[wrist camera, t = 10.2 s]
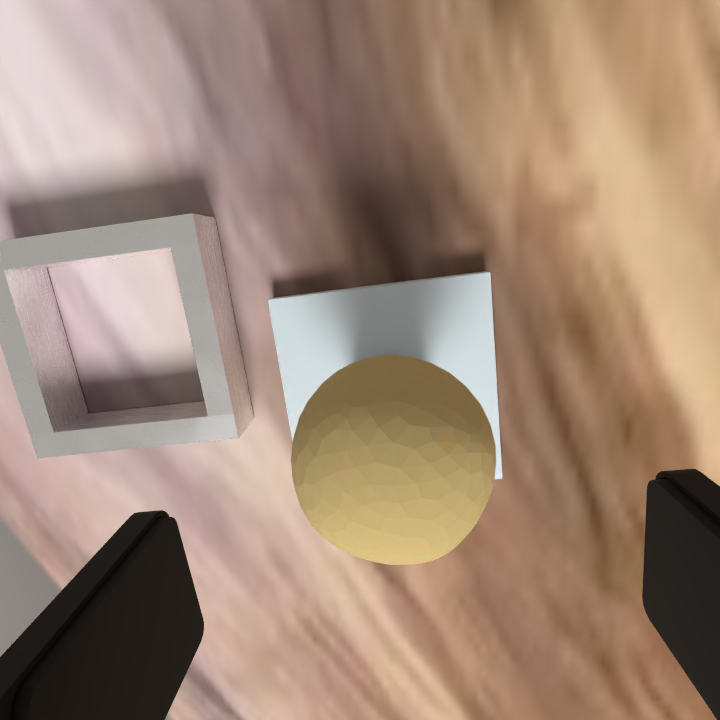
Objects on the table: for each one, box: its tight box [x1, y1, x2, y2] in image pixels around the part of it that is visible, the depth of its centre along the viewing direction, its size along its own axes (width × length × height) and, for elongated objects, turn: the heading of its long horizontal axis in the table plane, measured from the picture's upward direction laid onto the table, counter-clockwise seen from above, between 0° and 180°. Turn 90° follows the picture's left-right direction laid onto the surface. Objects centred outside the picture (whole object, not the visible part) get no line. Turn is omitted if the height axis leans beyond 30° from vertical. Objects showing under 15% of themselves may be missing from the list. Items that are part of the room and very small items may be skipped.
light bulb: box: [291, 354, 496, 565], centre depth 16 cm, size 6×6×10 cm
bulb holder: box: [0, 213, 254, 458], centre depth 21 cm, size 10×10×2 cm
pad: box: [268, 271, 502, 479], centre depth 21 cm, size 10×10×1 cm
